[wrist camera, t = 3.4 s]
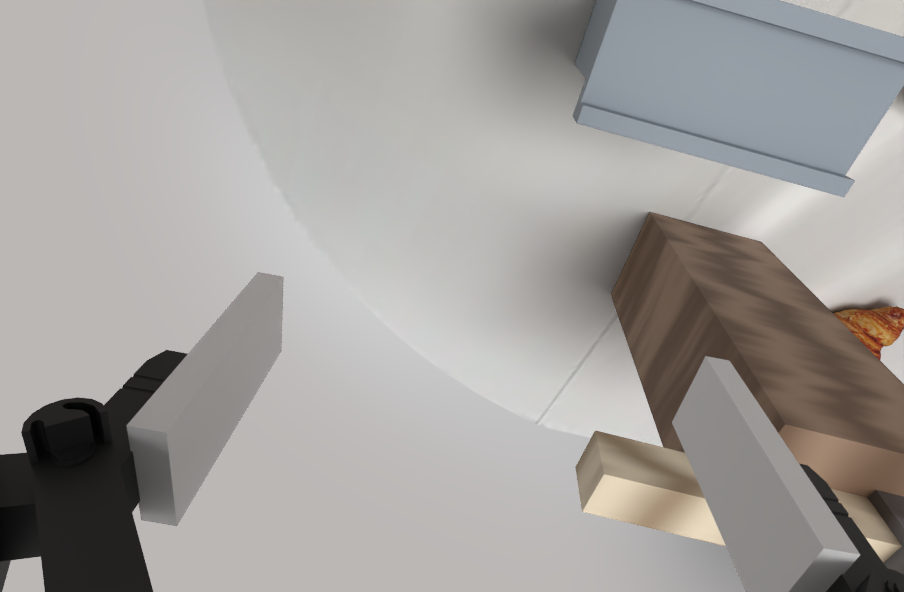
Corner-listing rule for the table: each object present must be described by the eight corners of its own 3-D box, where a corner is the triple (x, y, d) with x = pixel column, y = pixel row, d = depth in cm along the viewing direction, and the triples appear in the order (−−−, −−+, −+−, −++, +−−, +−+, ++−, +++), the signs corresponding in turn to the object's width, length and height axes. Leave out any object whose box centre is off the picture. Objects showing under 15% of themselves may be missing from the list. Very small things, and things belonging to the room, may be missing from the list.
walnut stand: (610, 294, 59) (695, 538, 33) (649, 211, 54) (785, 424, 28) (713, 321, 59) (875, 581, 33) (761, 242, 54) (996, 477, 28)
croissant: (714, 392, 69) (751, 450, 64) (685, 375, 62) (723, 438, 57) (888, 299, 59) (945, 359, 55) (876, 267, 53) (940, 331, 48)
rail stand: (549, 70, 48) (576, 123, 30) (581, -32, 44) (636, -43, 26) (717, 117, 49) (844, 197, 30) (764, 22, 44) (942, 48, 26)
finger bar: (571, 475, 31) (580, 543, 27) (600, 421, 29) (614, 488, 25) (890, 552, 32) (942, 628, 28) (942, 506, 30) (1006, 582, 26)
